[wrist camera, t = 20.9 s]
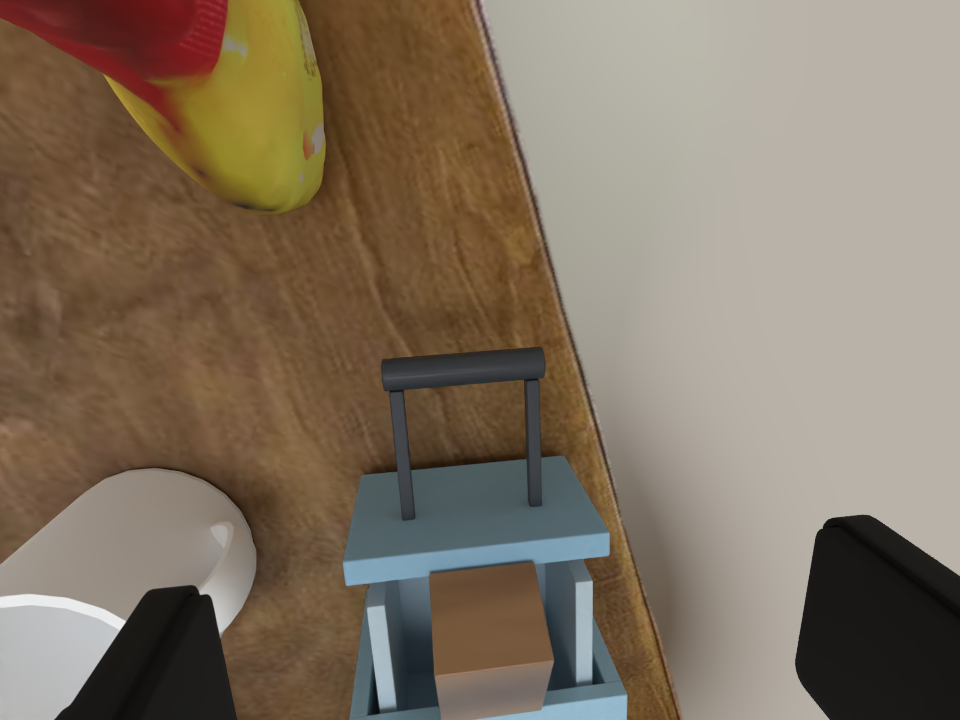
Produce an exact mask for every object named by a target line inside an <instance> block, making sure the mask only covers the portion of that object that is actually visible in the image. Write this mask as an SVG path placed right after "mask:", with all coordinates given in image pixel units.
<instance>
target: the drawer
mask: <svg viewBox="0 0 960 720" xmlns="http://www.w3.org/2000/svg"><path fill="white" fill-rule="evenodd" d="M381 369H382V382H383V388H384V391H390V392H389V396H390V405H391V415H392V425H393V435H394V444H395V454H396V464H397V472H388V473H378V474H367V475H361V478H360V483H359V488H358V492H357V497H356V502H355V507H354V511H353V516H352V521H351V526H350V530H349V535H348V540H347V544H346V549H345V554H344V559H343V570H344V577H345V584H346V586H351V585H359V584H368V583H370V584H369V592H368V600H367V616H368V624H369V632H370V639H371V647H372V655H373V663H374V670H375V678H376V686H377V694H378V701H379V709H380V714H384V713H391V712H398V711H406V710H413V709H420V708H427V707H435V706H439V703H438V697H437V690H436V684H435V677H434V661H433V643H432V624H431V606H430V588H429V574H432V573H440V572H449V571H458V570H467V569H475V568H484V567H493V566H502V565H510V564H519V563H528V562H534V564H535V568H536V573H537V578H538V583H539V588H540V593H541V598H542V603H543V607H544V612H545V617H546V622H547V627H548V632H549V637H550V642H551V647H552V651H553V656H554V664H553V667H552V671H551V675H550V679H549V683H548V687H547V691H552V690H559V689H567V688H574V687H581V686H589V685H592V632H593V581H592V578H591V576H590V574H589V572H588V570H587V568H586V566H585V564H584V561H583V559H586V558H594V557H603V556H609V554H610V533H609V531H608V529H607V527H606V526H605V524H604V522H603V521H602V519H601V517H600V516H599V514H598V512H597V511H596V509H595V507H594V505H593V504H592V502H591V500H590V499H589V497H588V495H587V494H586V492H585V490H584V489H583V487H582V485H581V483H580V482H579V480H578V478H577V477H576V475H575V473H574V472H573V470H572V468H571V467H570V465H569V463H568V461H567V460H566V458H565V456H553V457H543V458H541V434H540V392H539V378H544V375H545V357H544V352H543V350H542V348H541V347H531V348H518V349H505V350H493V351H480V352H467V353H454V354H442V355H429V356H416V357H403V358H391V359H383V360H382V363H381ZM515 380H524V394H525V425H526V457H527V459H522V460H512V461H501V462H491V463H481V464H471V465H460V466H450V467H440V468H429V469H419V470H411V463H410V452H409V442H408V431H407V420H406V410H405V399H404V390H408V389H420V388H432V387H443V386H455V385H467V384H479V383H491V382H503V381H515Z"/></svg>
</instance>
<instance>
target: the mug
mask: <svg viewBox="0 0 960 720" xmlns="http://www.w3.org/2000/svg"><path fill="white" fill-rule="evenodd" d="M255 573H256V548H255V546H254V544H253V540H252V534H251V530H250V528H249V526H248V524H247V522H246V520H245V518H244V516H243V514H242V512H241V511H240V510H239V508H238V507H237V506H236V505H235V504H234V503H233V502H232V501H231V500H230V499H229V498H228V496H227V495H226V494H224V493H223V492H221V491H220V490H218V489H217V488H215V487H214V486H212V485H211V484H209V483H208V482H206V481H205V480H202V479H199V478H197V477H194V476H191V475H189V474H186V473H183V472H180V471H173V470H166V469H159V468H149V469H137V470H128V471H125V472H123V473H120V474H117V475H114V476H111V477H108V478H105V479H104V480H102V481H101V482H99V483H98V484H96V485H95V486H93V487H92V488H90V489H89V490H87V491H86V492H85V493H83V494H82V495H81V496H80V497H79V498H77V499H76V500H75V501H74V502H73V503H72V504H70V505H69V506H68V507H67V508H66V509H65V510H63V511H62V512H61V513H60V514H59V515H58V516H56V517H55V518H54V519H53V520H52V521H51V522H49V523H48V524H47V525H46V526H45V527H44V528H42V529H41V530H40V531H39V532H38V533H37V534H35V535H34V536H33V537H32V538H31V539H30V540H28V541H27V542H26V543H25V544H24V545H23V546H21V547H20V548H19V549H18V550H17V551H16V552H14V553H13V554H12V555H11V556H10V557H9V558H7V559H6V560H5V561H4V562H3V563H2V564H0V720H54V719H55V718H56V717H57V716H58V715H59V713H60V712H61V711H62V710H63V709H65V708H66V707H68V706H69V705H71V703H72V702H73V700H74V699H75V697H76V696H77V694H78V693H79V691H80V690H81V688H82V687H83V685H84V684H85V682H86V681H87V679H88V678H89V676H90V675H91V673H92V672H93V670H94V669H95V667H96V666H97V664H98V663H99V661H100V660H101V658H102V657H103V655H104V654H105V652H106V651H107V649H108V648H109V646H110V645H111V643H112V642H113V640H114V639H115V637H116V636H117V634H118V633H119V631H120V630H121V628H122V627H123V625H124V624H125V622H126V621H127V619H128V618H129V616H130V615H131V613H132V612H133V610H134V609H135V607H136V606H137V604H138V603H139V602H140V600H141V599H142V597H143V596H144V595H145V593H146V592H147V591H149V590H151V589H157V588H166V587H176V586H185V585H194V586H196V587H197V589H198V590H199V593H200V595H203V594H208V595H210V597H211V598H212V601H213V606H214V610H215V615H216V620H217V625H218V630H219V635H220V639H221V637H222V635H223V632H224V630H225V629H226V628H227V627H228V626H229V625H230V623H231V622H232V621H233V619H234V618H235V617H236V615H237V614H238V613H239V611H240V610H241V609H242V607H243V605H244V603H245V601H246V599H247V597H248V594H249V592H250V590H251V588H252V584H253V580H254V577H255Z"/></svg>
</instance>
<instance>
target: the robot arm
mask: <svg viewBox="0 0 960 720" xmlns="http://www.w3.org/2000/svg"><path fill="white" fill-rule="evenodd" d="M795 666H796V672H797V675H798V678H799V680H800V682H801V684H802V685H803V687H804V688H805V689H806V691H807V692H808V693H809V694H810V696H811V697H812V698H813V699H814V701H815V702H816V703H817V704H818V705H819V707H820V708H821V709H822V710H823V712H824V713H825V714H826V716H827V717H828V718H829V719H830V720H960V576H959V575H957V574H956V573H954V572H953V571H952V570H950V569H949V568H947V567H946V566H944V565H943V564H941V563H940V562H938V561H937V560H936V559H934V558H933V557H931V556H930V555H928V554H927V553H925V552H924V551H922V550H921V549H919V548H918V547H917V546H915V545H914V544H912V543H911V542H909V541H908V540H906V539H905V538H903V537H902V536H901V535H899V534H897V533H896V532H895V531H893V530H892V529H890V528H889V527H887V526H886V525H885V524H883V523H882V522H880V521H879V520H877V519H876V518H873V517H872V516H870V515H856V516H846V517H836V518H831V519H828V520H827V521H826V523H825V524H824V526H823V529H820V530H819V531H818V532H817V535H816V538H815V544H814V550H813V556H812V563H811V568H810V575H809V580H808V586H807V592H806V599H805V605H804V611H803V617H802V623H801V629H800V635H799V641H798V647H797V653H796V659H795ZM54 720H237V717H236V712H235V708H234V703H233V698H232V693H231V688H230V683H229V678H228V674H227V669H226V664H225V659H224V654H223V649H222V644H221V640H220V635H219V630H218V625H217V620H216V615H215V610H214V606H213V601H212V598H211V597H210V595H208V594H203V595H200V593H199V590H198V589H197V587H196V586H194V585H185V586H176V587H166V588H157V589H151V590H149V591H147V592H146V593H145V595H144V596H143V597H142V599H141V600H140V602H139V603H138V604H137V606H136V607H135V609H134V610H133V612H132V613H131V615H130V616H129V618H128V619H127V621H126V622H125V624H124V625H123V627H122V628H121V630H120V631H119V633H118V634H117V636H116V637H115V639H114V640H113V642H112V643H111V645H110V646H109V648H108V649H107V651H106V652H105V654H104V655H103V657H102V658H101V660H100V661H99V663H98V664H97V666H96V667H95V669H94V670H93V672H92V673H91V675H90V676H89V678H88V679H87V681H86V682H85V684H84V685H83V687H82V688H81V690H80V691H79V693H78V694H77V696H76V697H75V699H74V700H73V702H72V703H71V705H69V706H68V707H66V708H65V709H63V710H62V711H61V712H60V713H59V715H58V716H57V717H56V718H55V719H54Z"/></svg>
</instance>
